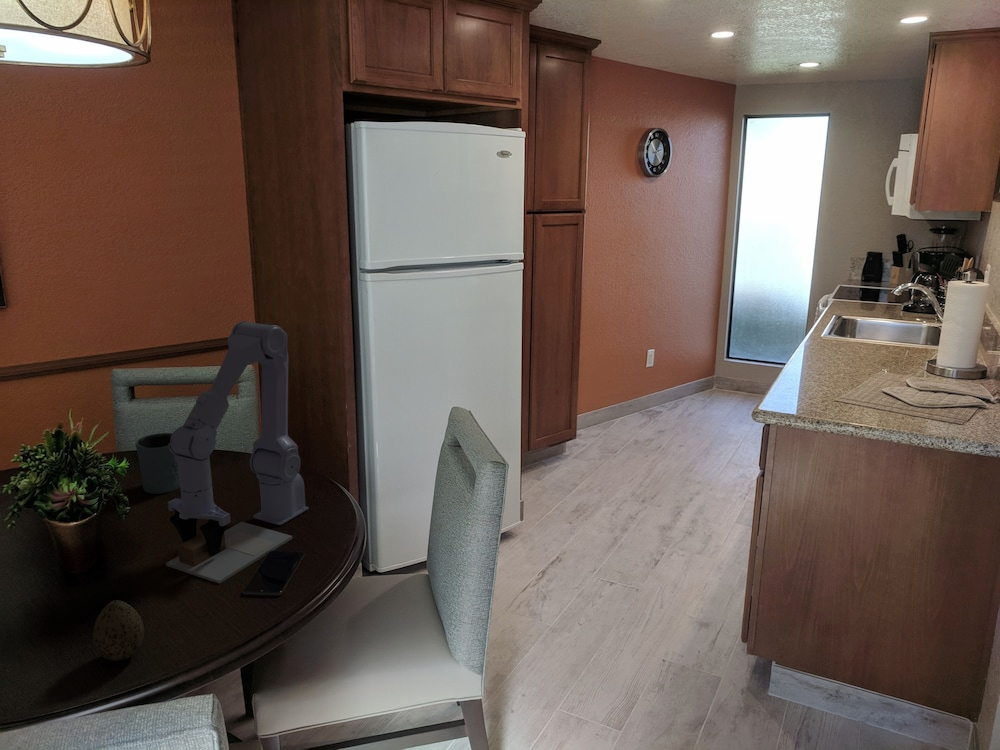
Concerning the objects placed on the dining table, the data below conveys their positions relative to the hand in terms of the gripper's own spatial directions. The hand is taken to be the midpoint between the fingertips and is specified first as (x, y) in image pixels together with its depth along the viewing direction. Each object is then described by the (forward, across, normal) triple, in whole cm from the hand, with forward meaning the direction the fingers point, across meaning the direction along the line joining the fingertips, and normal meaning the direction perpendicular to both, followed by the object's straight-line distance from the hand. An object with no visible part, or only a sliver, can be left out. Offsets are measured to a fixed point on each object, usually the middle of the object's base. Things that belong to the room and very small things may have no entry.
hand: (202, 550), depth 149 cm
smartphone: (+2, +16, +2) cm, 17 cm away
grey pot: (+2, -35, +20) cm, 41 cm away
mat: (+2, +3, +4) cm, 6 cm away
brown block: (+1, 0, 0) cm, 1 cm away
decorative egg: (+2, +13, -28) cm, 31 cm away
